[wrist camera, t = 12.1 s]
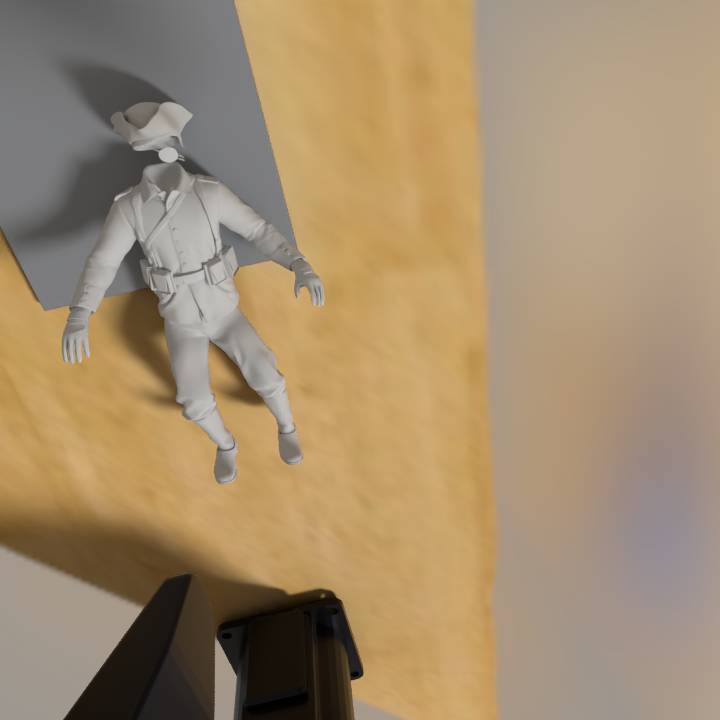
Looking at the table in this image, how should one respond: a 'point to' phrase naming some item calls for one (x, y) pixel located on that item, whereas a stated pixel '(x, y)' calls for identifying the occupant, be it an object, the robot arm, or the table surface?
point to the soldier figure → (191, 277)
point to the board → (95, 130)
